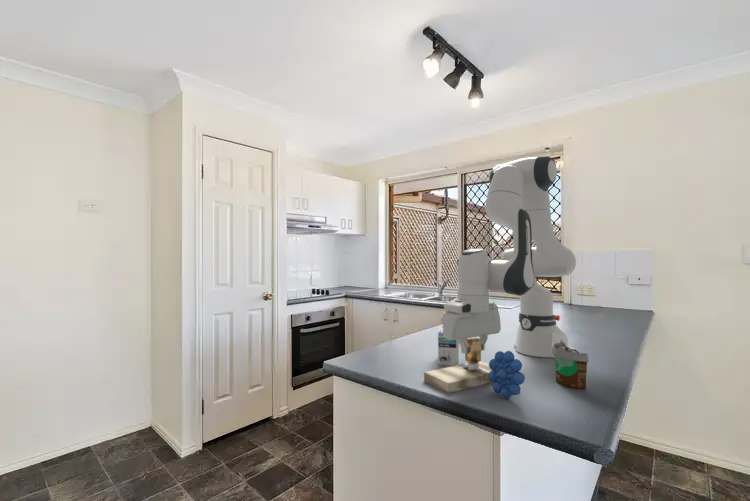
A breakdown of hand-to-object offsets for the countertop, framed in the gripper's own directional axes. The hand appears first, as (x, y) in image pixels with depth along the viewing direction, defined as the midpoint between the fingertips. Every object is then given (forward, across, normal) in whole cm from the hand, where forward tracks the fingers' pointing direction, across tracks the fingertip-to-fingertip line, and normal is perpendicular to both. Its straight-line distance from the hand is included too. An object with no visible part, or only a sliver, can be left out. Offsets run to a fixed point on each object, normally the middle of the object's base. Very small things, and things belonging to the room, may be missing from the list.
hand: (473, 351), depth 102 cm
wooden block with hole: (+8, +3, 0) cm, 8 cm away
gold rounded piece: (+7, 0, 0) cm, 7 cm away
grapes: (+8, +3, +15) cm, 17 cm away
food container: (+8, -19, +16) cm, 26 cm away
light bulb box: (+8, -5, -16) cm, 19 cm away
